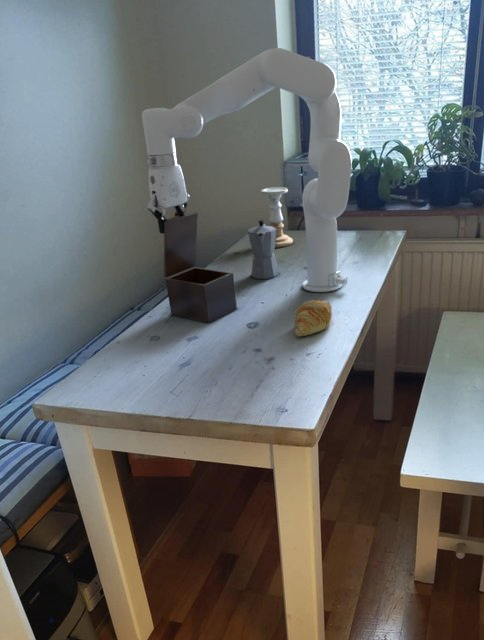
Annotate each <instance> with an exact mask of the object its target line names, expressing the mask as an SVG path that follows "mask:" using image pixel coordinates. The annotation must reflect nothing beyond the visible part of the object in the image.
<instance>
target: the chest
mask: <svg viewBox="0 0 484 640" xmlns="http://www.w3.org/2000/svg"><path fill="white" fill-rule="evenodd" d="M234 278H235V277H234V272H229V271H223V270H217V269H211V268H204V267H198V266H194V267H191V268H189V269H186V270H184V271H181V272H179V273H176V274H174V275H171V276H169V277H165V285H166V290H167V296H168V303H169V309H170V315H171V316H174V317H179V318H184V319H189V320H193V321H199V322H203V323H207V324H210V323H212V322H214V321H216V320H218V319H220V318H222V317H224V316H226V315H228V314H230V313H232V312H235V310H237V309H238V308H237V297H236V287H235V279H234Z"/></svg>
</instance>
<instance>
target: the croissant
mask: <svg viewBox="0 0 484 640" xmlns="http://www.w3.org/2000/svg"><path fill="white" fill-rule="evenodd" d="M332 311H333V310H332V305H331V304H330V302H328V301H323V300H322V299H313V300H312V299H311V300H308V301H305V302H303V303H302V304H300V305H299V306H298V307H297V308H296V310H295V312H294V328H295V329H294V333H295V334H294V335H295V336H296V337H306V336H310V335H313V334H316V333H318V332H321V331H323V330H326V329H328V327H329V325H330V323H331V320H332V315H333V312H332Z"/></svg>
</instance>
